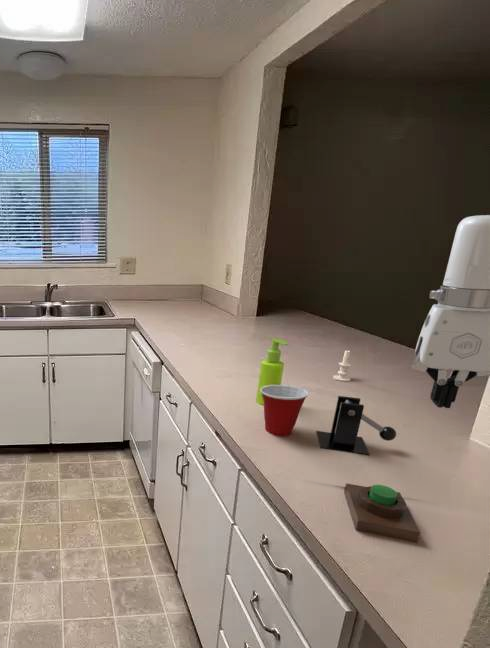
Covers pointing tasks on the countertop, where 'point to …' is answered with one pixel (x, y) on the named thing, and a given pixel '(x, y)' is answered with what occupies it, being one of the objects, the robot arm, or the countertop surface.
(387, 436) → the light lever
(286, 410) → the plastic cup
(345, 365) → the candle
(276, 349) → the soap dispenser
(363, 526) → the button block
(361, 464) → the countertop surface
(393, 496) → the light button
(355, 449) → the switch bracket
